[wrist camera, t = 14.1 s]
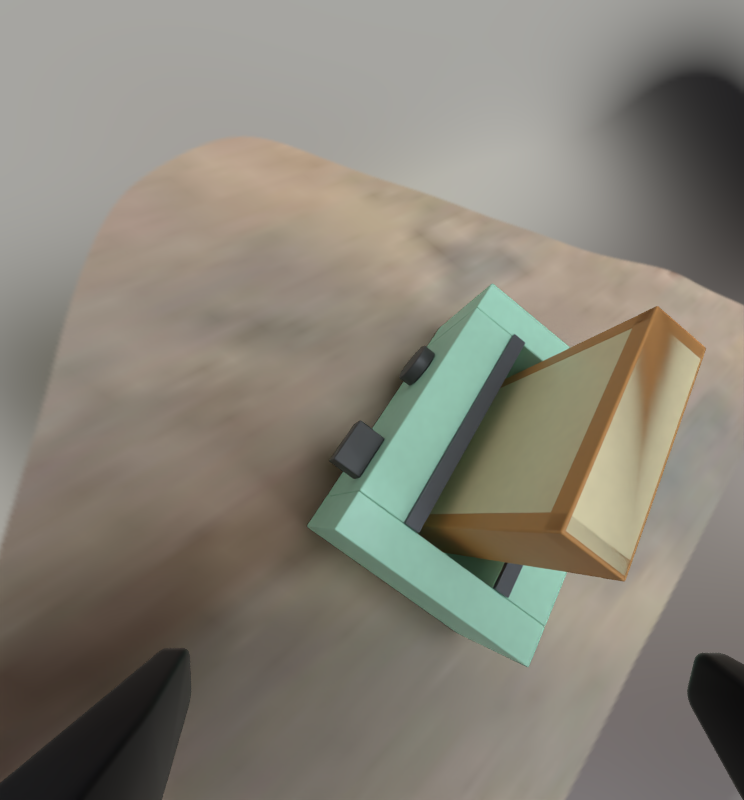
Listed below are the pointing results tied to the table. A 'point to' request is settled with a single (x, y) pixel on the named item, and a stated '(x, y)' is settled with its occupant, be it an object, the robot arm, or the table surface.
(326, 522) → the toaster
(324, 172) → the table surface
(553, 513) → the toast
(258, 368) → the table surface
